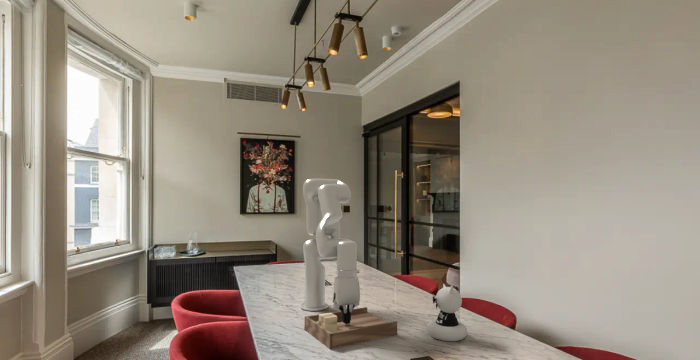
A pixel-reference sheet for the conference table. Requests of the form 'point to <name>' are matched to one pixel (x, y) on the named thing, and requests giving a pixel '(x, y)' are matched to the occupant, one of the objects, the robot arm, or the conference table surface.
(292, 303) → the conference table surface
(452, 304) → the decorative figurine
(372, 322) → the box
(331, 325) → the maple block
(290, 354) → the conference table surface
